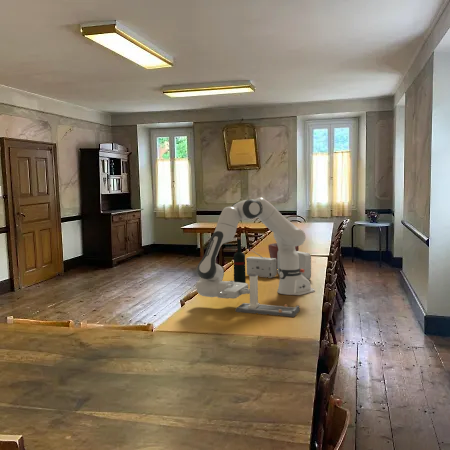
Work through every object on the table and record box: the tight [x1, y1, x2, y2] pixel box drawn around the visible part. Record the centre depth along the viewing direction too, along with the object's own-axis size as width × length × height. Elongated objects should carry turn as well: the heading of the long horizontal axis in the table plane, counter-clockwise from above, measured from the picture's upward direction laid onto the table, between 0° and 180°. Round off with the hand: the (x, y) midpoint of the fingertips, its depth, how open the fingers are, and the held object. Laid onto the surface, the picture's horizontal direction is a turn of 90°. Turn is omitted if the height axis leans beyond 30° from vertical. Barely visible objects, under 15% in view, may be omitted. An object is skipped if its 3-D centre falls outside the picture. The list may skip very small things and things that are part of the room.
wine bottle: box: [233, 236, 247, 283], centre depth 298 cm, size 8×10×30 cm
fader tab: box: [248, 272, 260, 308], centre depth 231 cm, size 4×7×17 cm, turn 158°
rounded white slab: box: [277, 250, 312, 280], centre depth 314 cm, size 29×8×18 cm, turn 33°
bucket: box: [267, 242, 300, 269], centre depth 345 cm, size 24×22×25 cm
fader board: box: [235, 302, 301, 318], centre depth 229 cm, size 30×12×3 cm, turn 68°
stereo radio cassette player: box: [245, 247, 278, 279], centre depth 318 cm, size 21×8×20 cm, turn 58°
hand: (251, 291), depth 232 cm, fingers closed, pressing on fader tab
